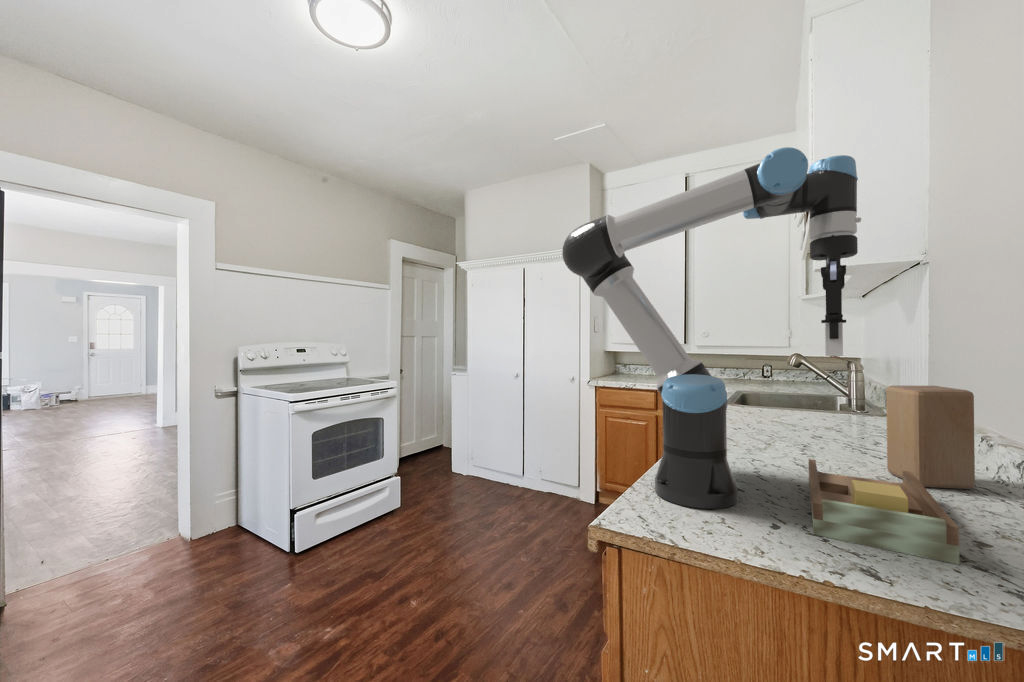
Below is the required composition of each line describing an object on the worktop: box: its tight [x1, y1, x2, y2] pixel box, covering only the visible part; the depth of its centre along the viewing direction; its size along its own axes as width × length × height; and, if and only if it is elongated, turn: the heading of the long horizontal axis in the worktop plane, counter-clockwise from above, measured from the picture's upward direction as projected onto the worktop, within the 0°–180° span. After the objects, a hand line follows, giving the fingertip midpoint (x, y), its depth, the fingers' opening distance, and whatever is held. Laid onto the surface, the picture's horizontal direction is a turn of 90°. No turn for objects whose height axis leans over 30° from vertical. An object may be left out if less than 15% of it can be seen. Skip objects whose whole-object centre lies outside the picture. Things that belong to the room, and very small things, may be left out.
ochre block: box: [852, 480, 908, 513], centre depth 65 cm, size 6×6×4 cm
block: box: [885, 384, 976, 490], centre depth 88 cm, size 10×10×20 cm
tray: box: [808, 458, 960, 565], centre depth 72 cm, size 16×28×6 cm, turn 145°
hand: (834, 355), depth 82 cm, fingers closed
